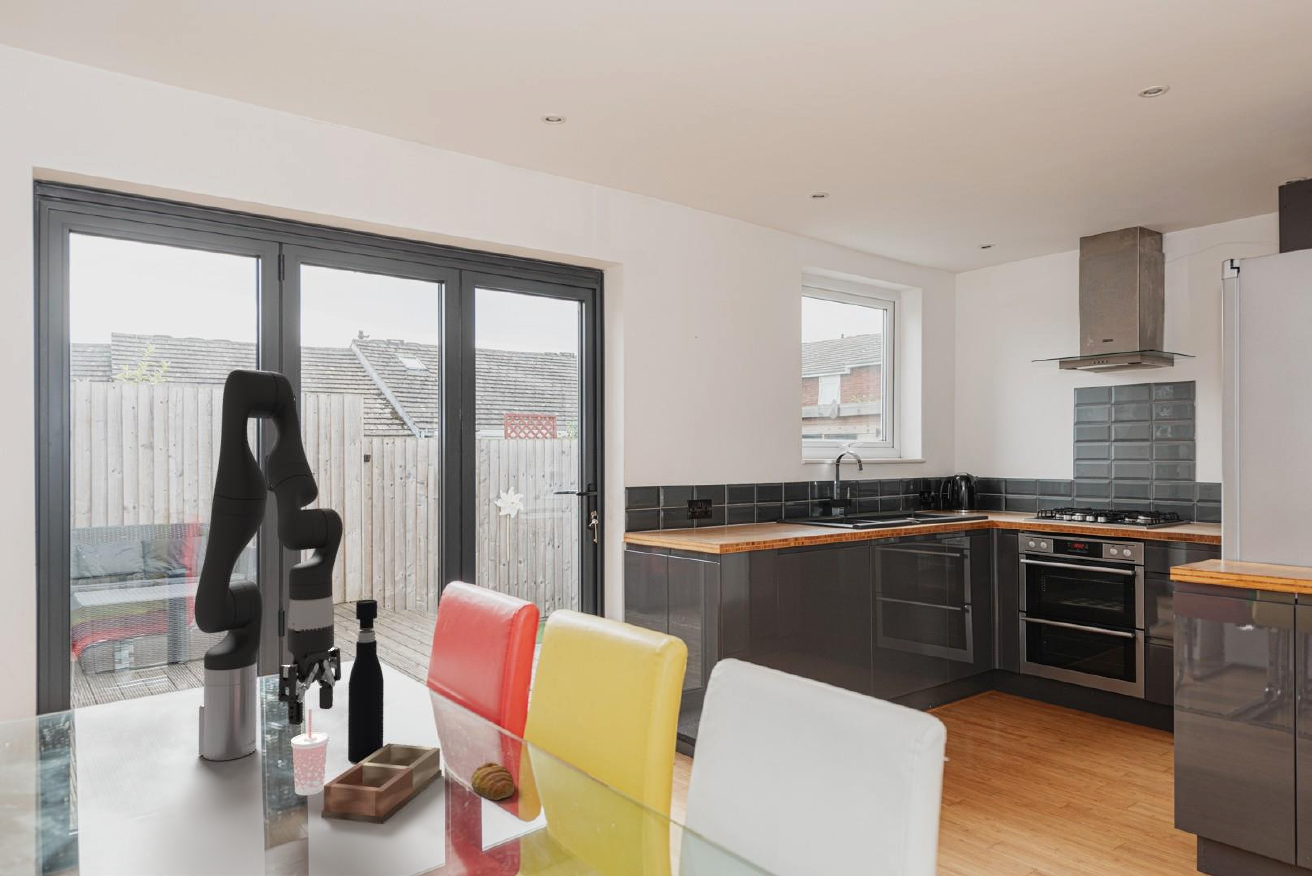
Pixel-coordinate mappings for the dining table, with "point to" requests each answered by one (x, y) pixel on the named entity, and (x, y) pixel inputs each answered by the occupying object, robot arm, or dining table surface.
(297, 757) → the beverage cup
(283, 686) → the robot arm
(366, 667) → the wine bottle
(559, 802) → the dining table surface
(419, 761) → the cup holder
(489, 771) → the pastry
